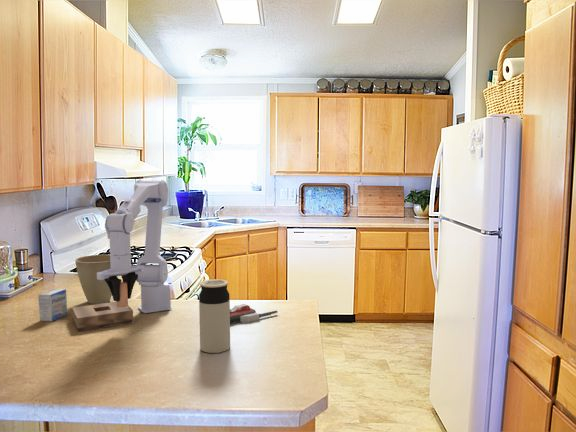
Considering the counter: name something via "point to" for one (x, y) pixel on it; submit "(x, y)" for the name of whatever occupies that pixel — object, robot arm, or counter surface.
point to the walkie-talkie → (245, 314)
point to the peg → (123, 295)
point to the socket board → (101, 316)
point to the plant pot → (94, 277)
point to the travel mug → (214, 316)
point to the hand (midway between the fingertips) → (122, 299)
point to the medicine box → (52, 305)
